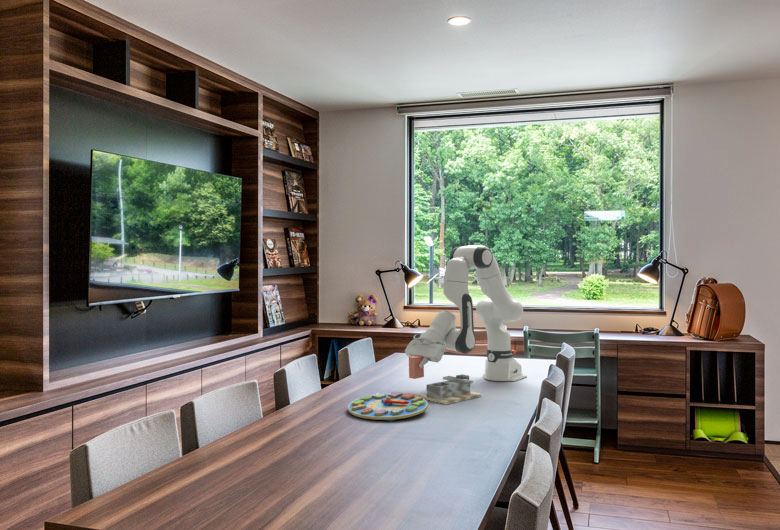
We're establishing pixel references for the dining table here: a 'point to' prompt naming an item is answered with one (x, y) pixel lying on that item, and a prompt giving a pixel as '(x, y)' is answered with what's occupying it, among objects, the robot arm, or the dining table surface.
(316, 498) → the dining table surface
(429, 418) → the dining table surface
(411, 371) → the salmon pink rectangular box
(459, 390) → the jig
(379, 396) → the shape sorting clock
